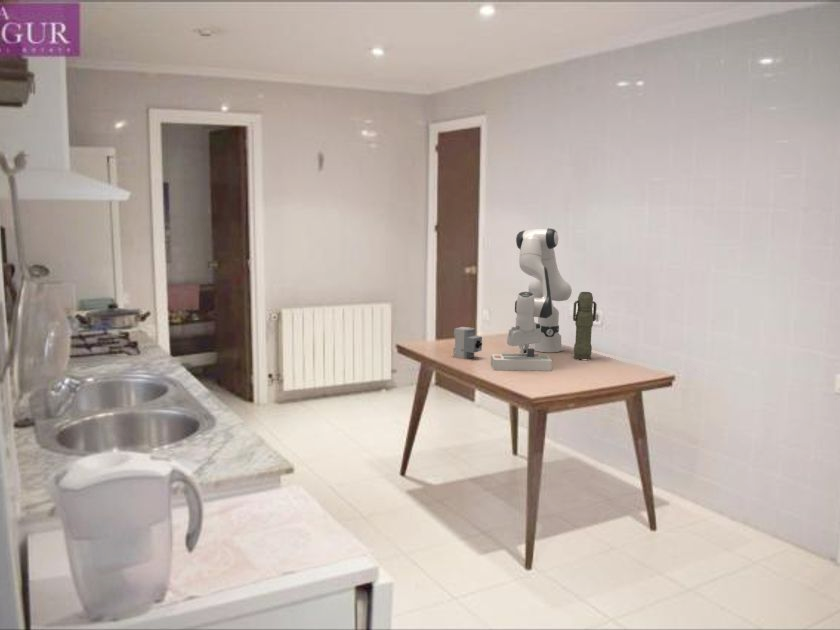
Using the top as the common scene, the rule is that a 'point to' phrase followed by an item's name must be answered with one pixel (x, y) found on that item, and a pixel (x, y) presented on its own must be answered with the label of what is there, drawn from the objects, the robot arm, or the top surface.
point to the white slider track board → (521, 362)
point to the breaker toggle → (530, 352)
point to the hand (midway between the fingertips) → (523, 353)
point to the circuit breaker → (466, 342)
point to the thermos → (584, 325)
